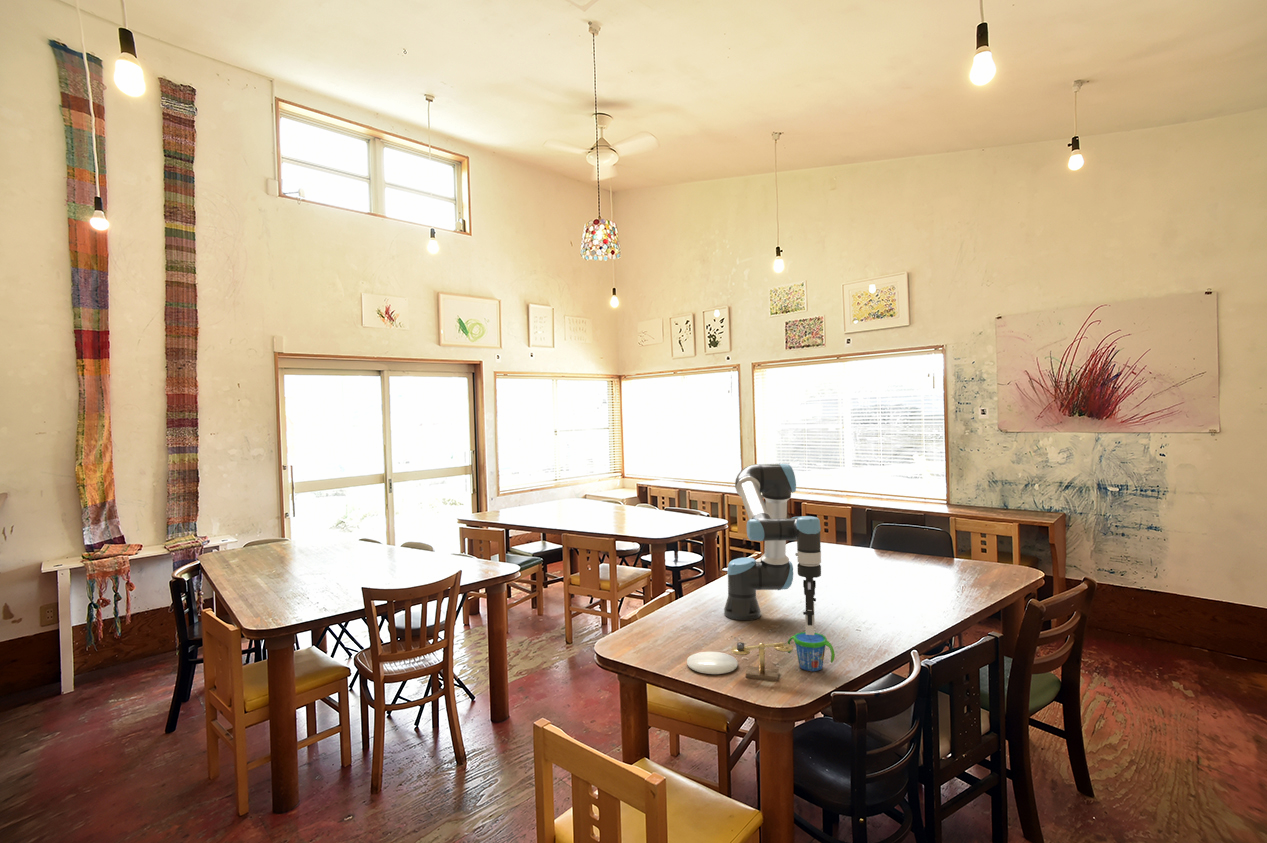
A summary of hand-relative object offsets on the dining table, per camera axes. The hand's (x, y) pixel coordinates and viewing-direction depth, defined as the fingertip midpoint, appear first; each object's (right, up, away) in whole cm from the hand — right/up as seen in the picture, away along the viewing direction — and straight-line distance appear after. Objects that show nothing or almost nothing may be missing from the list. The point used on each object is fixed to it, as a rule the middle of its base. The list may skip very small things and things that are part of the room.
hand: (810, 627), depth 201 cm
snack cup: (0, -14, 0) cm, 14 cm away
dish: (-32, -14, +4) cm, 35 cm away
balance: (-17, -14, -5) cm, 22 cm away
